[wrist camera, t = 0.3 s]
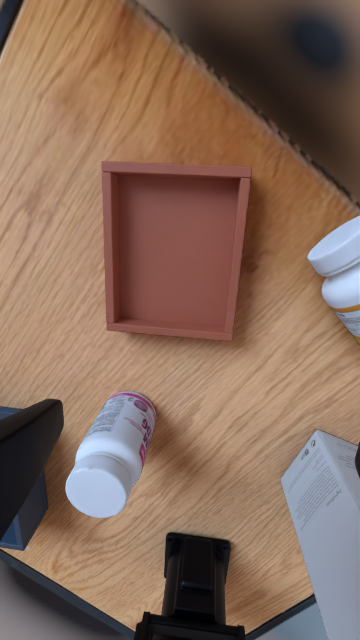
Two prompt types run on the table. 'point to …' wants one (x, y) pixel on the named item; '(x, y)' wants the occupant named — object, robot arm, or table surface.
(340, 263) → the supplement bottle
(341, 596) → the cosmetic box
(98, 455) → the pill bottle
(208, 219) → the tray
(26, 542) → the box
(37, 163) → the table surface
